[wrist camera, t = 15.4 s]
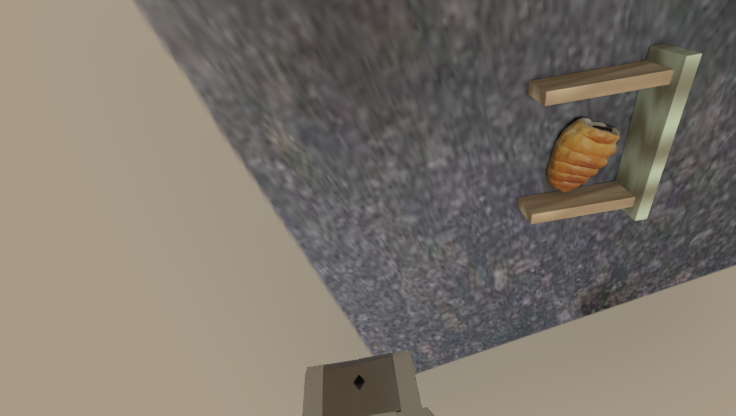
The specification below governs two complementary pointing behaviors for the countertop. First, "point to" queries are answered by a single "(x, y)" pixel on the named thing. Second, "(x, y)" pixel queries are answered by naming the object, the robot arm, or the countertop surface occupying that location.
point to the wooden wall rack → (644, 139)
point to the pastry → (580, 153)
